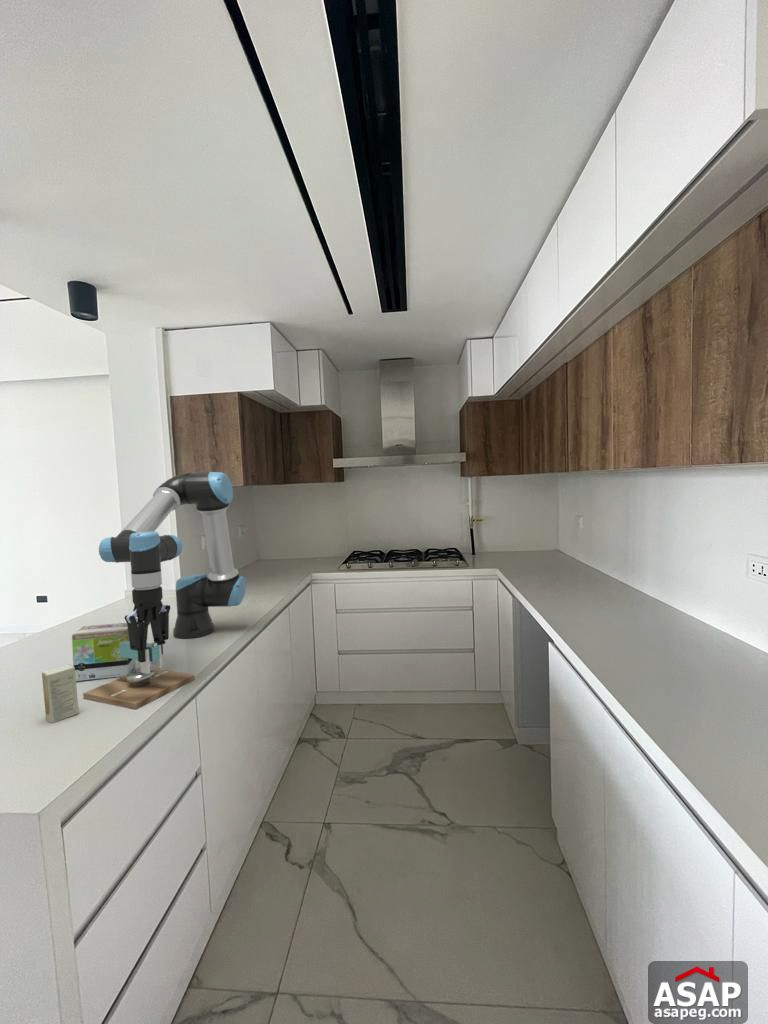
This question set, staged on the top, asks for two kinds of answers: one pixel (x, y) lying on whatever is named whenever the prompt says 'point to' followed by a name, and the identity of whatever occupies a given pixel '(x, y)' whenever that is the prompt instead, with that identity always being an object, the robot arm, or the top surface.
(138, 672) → the teal lever handle
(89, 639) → the tea box
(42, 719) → the top surface
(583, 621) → the top surface
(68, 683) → the skincare box
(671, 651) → the top surface
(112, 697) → the post base
